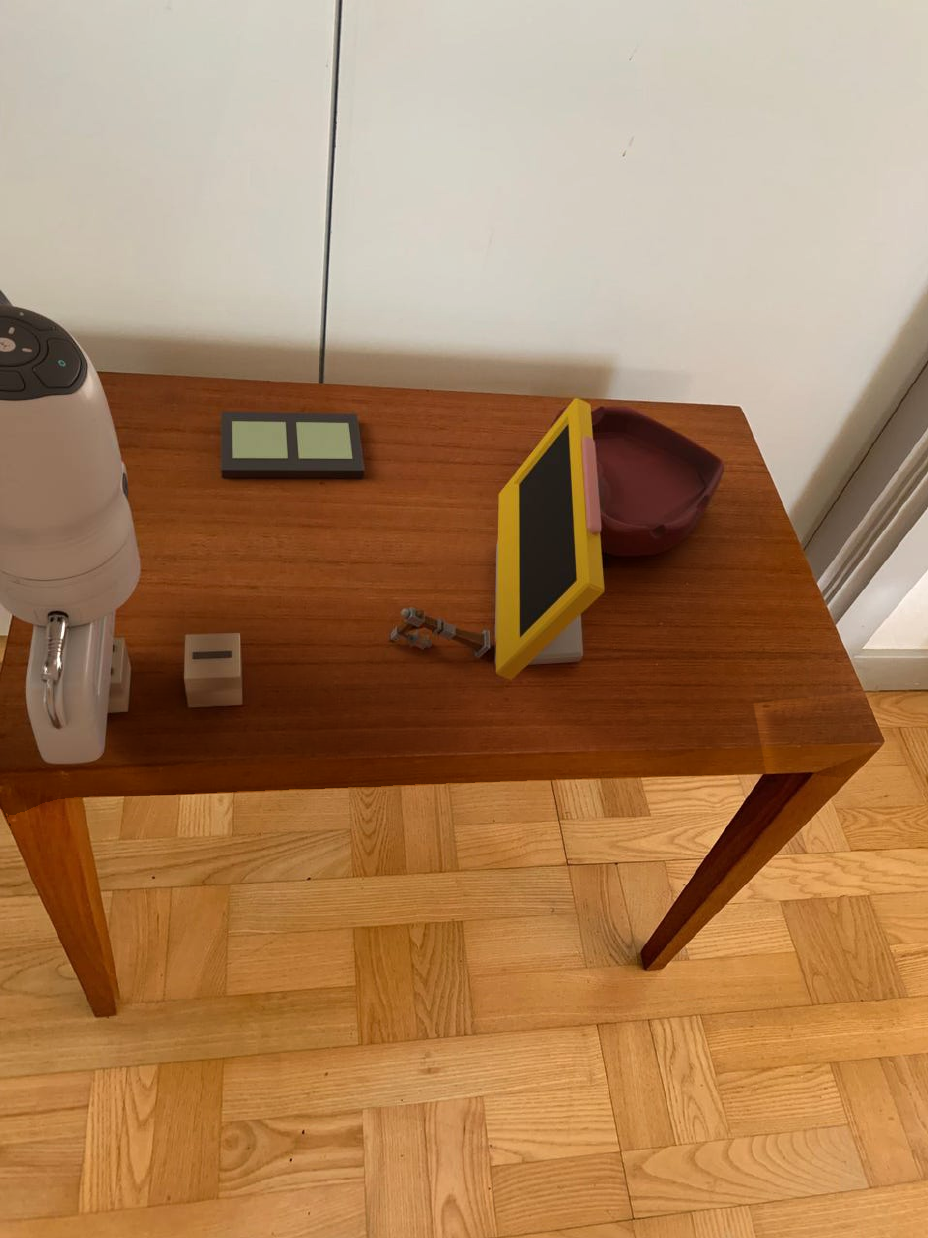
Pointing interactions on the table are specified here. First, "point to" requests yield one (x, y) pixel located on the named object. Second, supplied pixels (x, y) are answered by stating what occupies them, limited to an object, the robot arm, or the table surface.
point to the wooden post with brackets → (443, 629)
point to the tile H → (119, 678)
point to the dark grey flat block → (290, 445)
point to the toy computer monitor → (548, 548)
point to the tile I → (213, 669)
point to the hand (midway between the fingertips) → (98, 678)
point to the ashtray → (648, 481)
